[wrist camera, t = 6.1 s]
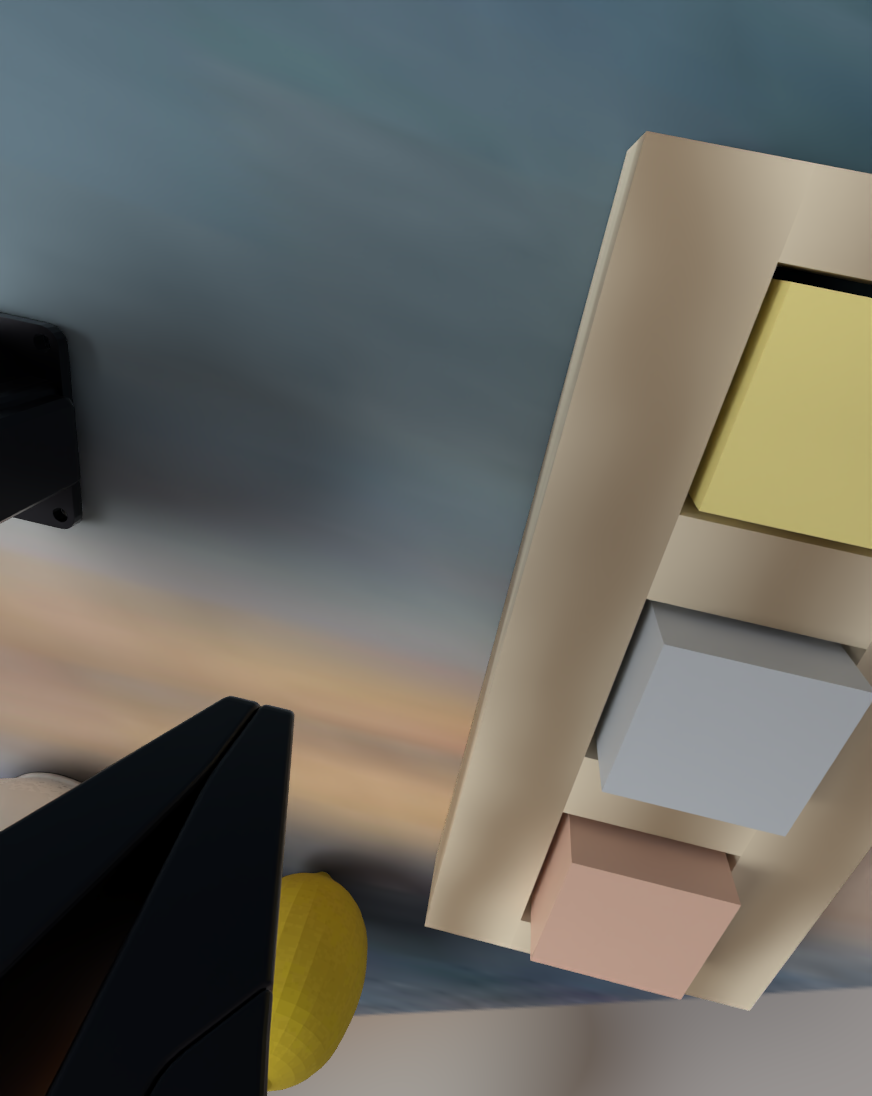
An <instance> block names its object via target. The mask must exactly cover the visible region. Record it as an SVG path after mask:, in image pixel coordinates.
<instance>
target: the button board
mask: <svg viewBox="0 0 872 1096" xmlns="http://www.w3.org/2000/svg"><path fill="white" fill-rule="evenodd" d="M776 266H778V267H783V268H788V269H793V270H798V271H803V272H808V273H813V274H818V275H823V276H828V277H833V278H838V279H843V280H848V281H853V282H858V283H863V284H868V285H872V174H868V173H863V172H858V171H853V170H848V169H842V168H837V167H832V166H827V165H821V164H816V163H811V162H806V161H800V160H795V159H790V158H785V157H779V156H774V155H769V154H764V153H759V152H753V151H748V150H743V149H738V148H732V147H727V146H722V145H717V144H711V143H706V142H701V141H696V140H691V139H685V138H680V137H675V136H670V135H664V134H659V133H654V132H649V131H646V132H645V133H644V134H643V135H642V136H641V137H640V138H639V139H638V140H637V141H636V142H635V143H634V144H633V145H632V147H631V148H630V149H629V150H628V151H627V153H626V157H625V161H624V164H623V168H622V172H621V175H620V179H619V183H618V186H617V190H616V194H615V198H614V201H613V205H612V209H611V212H610V216H609V220H608V223H607V227H606V231H605V234H604V238H603V242H602V246H601V249H600V253H599V257H598V260H597V264H596V268H595V271H594V275H593V279H592V283H591V286H590V290H589V294H588V297H587V301H586V305H585V308H584V312H583V316H582V319H581V323H580V327H579V331H578V334H577V338H576V342H575V345H574V349H573V353H572V356H571V360H570V364H569V368H568V371H567V375H566V379H565V382H564V386H563V390H562V393H561V397H560V401H559V404H558V408H557V412H556V416H555V419H554V423H553V427H552V430H551V434H550V438H549V441H548V445H547V449H546V453H545V456H544V460H543V464H542V467H541V471H540V475H539V478H538V482H537V486H536V489H535V493H534V497H533V501H532V504H531V508H530V512H529V515H528V519H527V523H526V526H525V530H524V534H523V537H522V541H521V545H520V549H519V552H518V556H517V560H516V563H515V567H514V571H513V574H512V578H511V582H510V586H509V589H508V593H507V597H506V600H505V604H504V608H503V611H502V615H501V619H500V622H499V626H498V630H497V634H496V637H495V641H494V645H493V648H492V652H491V656H490V659H489V663H488V667H487V671H486V674H485V678H484V682H483V685H482V689H481V693H480V696H479V700H478V704H477V707H476V711H475V715H474V719H473V722H472V726H471V730H470V733H469V737H468V741H467V744H466V748H465V752H464V756H463V759H462V763H461V767H460V770H459V774H458V778H457V781H456V785H455V789H454V792H453V796H452V800H451V804H450V807H449V811H448V815H447V818H446V822H445V826H444V829H443V833H442V837H441V840H440V844H439V848H438V852H437V855H436V861H435V867H434V873H433V879H432V885H431V891H430V897H429V903H428V909H427V915H426V921H425V926H426V927H430V928H433V929H437V930H441V931H445V932H449V933H453V934H456V935H460V936H464V937H468V938H472V939H476V940H479V941H483V942H487V943H491V944H495V945H499V946H502V947H506V948H510V949H514V950H518V951H522V952H525V953H529V954H530V948H531V892H532V890H533V887H534V885H535V882H536V879H537V877H538V874H539V872H540V869H541V867H542V864H543V862H544V859H545V856H546V854H547V851H548V849H549V846H550V844H551V841H552V839H553V836H554V833H555V831H556V828H557V826H558V823H559V821H560V818H561V816H562V813H563V812H564V813H568V814H572V815H576V816H580V817H584V818H588V819H592V820H596V821H600V822H604V823H608V824H612V825H616V826H620V827H624V828H628V829H632V830H637V831H641V832H645V833H649V834H653V835H657V836H661V837H665V838H669V839H673V840H677V841H681V842H685V843H689V844H693V845H697V846H701V847H705V848H709V849H713V850H717V851H721V852H725V854H726V857H727V860H728V863H729V867H730V870H731V873H732V877H733V880H734V883H735V887H736V890H737V893H738V896H739V900H740V903H741V906H740V908H739V910H738V911H737V913H736V914H735V916H734V917H733V919H732V921H731V922H730V924H729V925H728V927H727V928H726V930H725V931H724V933H723V935H722V936H721V938H720V939H719V941H718V942H717V944H716V945H715V947H714V949H713V950H712V952H711V953H710V955H709V956H708V958H707V959H706V961H705V963H704V964H703V966H702V967H701V969H700V970H699V972H698V973H697V975H696V977H695V978H694V980H693V981H692V983H691V984H690V986H689V987H688V989H687V991H686V992H685V994H687V995H690V996H694V997H698V998H702V999H706V1000H710V1001H713V1002H717V1003H721V1004H725V1005H729V1006H733V1007H737V1008H740V1009H744V1010H748V1011H750V1010H751V1008H752V1007H753V1005H754V1004H755V1003H756V1001H757V1000H758V999H759V997H760V996H761V995H762V993H763V992H764V991H765V989H766V988H767V987H768V985H769V984H770V983H771V981H772V980H773V979H774V977H775V976H776V975H777V973H778V972H779V971H780V969H781V968H782V967H783V965H784V964H785V963H786V961H787V960H788V958H789V957H790V956H791V954H792V953H793V952H794V950H795V949H796V948H797V946H798V945H799V944H800V942H801V941H802V940H803V938H804V937H805V936H806V934H807V933H808V932H809V930H810V929H811V928H812V926H813V925H814V924H815V922H816V921H817V919H818V918H819V917H820V915H821V914H822V913H823V911H824V910H825V909H826V907H827V906H828V905H829V903H830V902H831V901H832V899H833V898H834V897H835V895H836V894H837V893H838V891H839V890H840V889H841V887H842V886H843V885H844V883H845V882H846V880H847V879H848V878H849V876H850V875H851V874H852V872H853V871H854V870H855V868H856V867H857V866H858V864H859V863H860V862H861V860H862V859H863V858H864V856H865V855H866V854H867V852H868V851H869V850H870V848H871V847H872V703H871V704H870V706H869V707H868V709H867V710H866V712H865V713H864V715H863V717H862V718H861V720H860V721H859V723H858V724H857V726H856V727H855V729H854V731H853V732H852V734H851V735H850V737H849V738H848V740H847V741H846V743H845V745H844V746H843V748H842V749H841V751H840V752H839V754H838V755H837V757H836V759H835V760H834V762H833V763H832V765H831V766H830V768H829V769H828V771H827V773H826V774H825V776H824V777H823V779H822V780H821V782H820V783H819V785H818V787H817V788H816V790H815V791H814V793H813V794H812V796H811V798H810V799H809V801H808V802H807V804H806V805H805V807H804V808H803V810H802V812H801V813H800V815H799V816H798V818H797V819H796V821H795V822H794V824H793V826H792V827H791V829H790V830H789V832H788V833H787V835H786V836H781V835H776V834H772V833H768V832H764V831H760V830H756V829H752V828H748V827H744V826H740V825H736V824H732V823H728V822H724V821H720V820H715V819H711V818H707V817H703V816H699V815H695V814H691V813H687V812H683V811H679V810H675V809H671V808H667V807H663V806H659V805H654V804H650V803H646V802H642V801H638V800H634V799H630V798H626V797H622V796H618V795H614V794H610V793H606V792H602V788H601V780H600V771H599V762H598V753H597V744H596V735H595V729H596V726H597V724H598V721H599V718H600V716H601V713H602V711H603V708H604V706H605V703H606V701H607V698H608V695H609V693H610V690H611V688H612V685H613V683H614V680H615V678H616V675H617V672H618V670H619V667H620V665H621V662H622V660H623V657H624V655H625V652H626V649H627V647H628V644H629V642H630V639H631V637H632V634H633V632H634V629H635V626H636V624H637V621H638V619H639V616H640V614H641V611H642V609H643V606H644V603H645V601H646V599H649V600H653V601H658V602H662V603H666V604H671V605H675V606H679V607H684V608H688V609H693V610H697V611H701V612H706V613H710V614H714V615H719V616H723V617H727V618H732V619H736V620H741V621H745V622H749V623H754V624H758V625H762V626H767V627H771V628H775V629H780V630H784V631H789V632H793V633H797V634H802V635H806V636H810V637H815V638H819V639H823V640H828V641H832V642H837V643H840V645H841V646H842V647H843V649H844V650H845V651H846V653H847V654H848V655H849V657H850V658H851V659H852V661H853V662H854V663H855V665H856V666H857V668H858V669H859V670H860V672H861V673H862V674H863V676H864V677H865V678H866V680H867V681H868V682H869V684H870V685H871V686H872V549H869V548H865V547H860V546H856V545H851V544H847V543H842V542H838V541H833V540H829V539H824V538H820V537H815V536H811V535H806V534H802V533H797V532H793V531H788V530H783V529H779V528H774V527H770V526H765V525H761V524H756V523H752V522H747V521H743V520H738V519H734V518H729V517H725V516H720V515H716V514H711V513H707V512H702V511H699V510H698V508H697V507H696V505H695V503H694V502H693V500H692V498H691V497H690V495H689V493H688V491H689V488H690V486H691V483H692V481H693V478H694V476H695V473H696V471H697V468H698V465H699V463H700V460H701V458H702V455H703V453H704V450H705V448H706V445H707V442H708V440H709V437H710V435H711V432H712V430H713V427H714V425H715V422H716V419H717V417H718V414H719V412H720V409H721V407H722V404H723V402H724V399H725V396H726V394H727V391H728V389H729V386H730V384H731V381H732V379H733V376H734V373H735V371H736V368H737V366H738V363H739V361H740V358H741V356H742V353H743V350H744V348H745V345H746V343H747V340H748V338H749V335H750V333H751V330H752V327H753V325H754V322H755V320H756V317H757V315H758V312H759V310H760V307H761V304H762V302H763V299H764V297H765V294H766V292H767V289H768V287H769V284H770V282H771V279H772V276H773V274H774V271H775V269H776Z"/></svg>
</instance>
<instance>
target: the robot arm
mask: <svg viewBox="0 0 872 1096" xmlns="http://www.w3.org/2000/svg"><path fill="white" fill-rule="evenodd" d="M44 336H46V337H47V338H48V340H49V342H50V349H49V348H48V347H47V346H46V345H45V343H44V340H43V337H44ZM61 509H63V510H64V511H65V512H66V514H67V516H65V515H64V514H63V513H62V511H61ZM12 517H14V518H18V519H23V520H27V521H31V522H35V523H40V524H44V525H48V526H52V527H57V528H61V529H68V528H70V527H72V526H74V525H75V524H77V523H79V522H80V520H81V519H82V503H81V492H80V469H79V458H78V446H77V434H76V423H75V411H74V406H73V400H72V389H71V377H70V366H69V354H68V344H67V340H66V337H65V335H64V334H63V332H62V331H61V330H60V329H59V328H58V327H57V326H55V325H52V324H50V323H46V322H41V321H36V320H32V319H27V318H23V317H18V316H13V315H9V314H4V313H0V523H2V522H4V521H6V520H8V519H10V518H12ZM293 729H294V713H293V712H292V711H290V710H287V709H283V708H279V707H275V706H270V705H263V706H260V705H259V704H258V703H257V702H254V701H250V700H246V699H242V698H238V697H234V696H229V697H225V698H223V699H221V700H219V701H218V702H216V703H214V704H213V705H211V706H209V707H208V708H206V709H204V710H203V711H201V712H199V713H198V714H196V715H194V716H193V717H191V718H189V719H188V720H186V721H184V722H183V723H181V724H179V725H178V726H176V727H174V728H173V729H171V730H169V731H168V732H166V733H164V734H163V735H161V736H159V737H158V738H156V739H154V740H153V741H151V742H149V743H148V744H146V745H144V746H142V747H141V748H139V749H137V750H136V751H134V752H132V753H131V754H129V755H127V756H126V757H124V758H122V759H121V760H119V761H117V762H116V763H114V764H112V765H111V766H109V767H107V768H106V769H104V770H102V771H101V772H99V773H97V774H96V775H94V776H92V777H91V778H89V779H87V780H86V781H84V782H82V783H81V784H79V785H77V786H76V787H74V788H72V789H71V790H69V791H67V792H66V793H64V794H62V795H60V796H59V797H57V798H55V799H54V800H52V801H50V802H49V803H47V804H45V805H44V806H42V807H40V808H39V809H37V810H35V811H34V812H32V813H30V814H29V815H27V816H25V817H24V818H22V819H20V820H19V821H17V822H15V823H14V824H12V825H10V826H9V827H7V828H5V829H4V830H2V831H0V1096H267V1085H268V1063H269V1041H270V1028H271V1015H272V1002H273V984H274V971H275V958H276V946H277V933H278V920H279V907H280V895H281V882H282V869H283V856H284V843H285V831H286V818H287V805H288V792H289V780H290V767H291V754H292V741H293Z"/></svg>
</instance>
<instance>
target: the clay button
mask: <svg viewBox="0 0 872 1096" xmlns="http://www.w3.org/2000/svg"><path fill="white" fill-rule="evenodd" d="M740 906H741V903H740V900H739V896H738V893H737V890H736V887H735V883H734V880H733V877H732V873H731V870H730V867H729V863H728V860H727V857H726V854H725V852H721V851H717V850H713V849H709V848H705V847H701V846H697V845H693V844H689V843H685V842H681V841H677V840H673V839H669V838H665V837H661V836H657V835H653V834H649V833H645V832H641V831H637V830H632V829H628V828H624V827H620V826H616V825H612V824H608V823H604V822H600V821H596V820H592V819H588V818H584V817H580V816H576V815H572V814H568V813H564V812H563V813H562V816H561V818H560V821H559V823H558V826H557V828H556V831H555V833H554V836H553V839H552V841H551V844H550V846H549V849H548V851H547V854H546V856H545V859H544V862H543V864H542V867H541V869H540V872H539V874H538V877H537V879H536V882H535V885H534V887H533V890H532V892H531V948H530V961H534V962H538V963H542V964H546V965H550V966H553V967H557V968H561V969H565V970H569V971H572V972H576V973H580V974H584V975H588V976H592V977H595V978H599V979H603V980H607V981H611V982H615V983H618V984H622V985H626V986H630V987H634V988H638V989H641V990H645V991H649V992H653V993H657V994H660V995H664V996H668V997H672V998H676V999H680V1000H681V998H682V997H683V995H684V994H685V992H686V991H687V989H688V987H689V986H690V984H691V983H692V981H693V980H694V978H695V977H696V975H697V973H698V972H699V970H700V969H701V967H702V966H703V964H704V963H705V961H706V959H707V958H708V956H709V955H710V953H711V952H712V950H713V949H714V947H715V945H716V944H717V942H718V941H719V939H720V938H721V936H722V935H723V933H724V931H725V930H726V928H727V927H728V925H729V924H730V922H731V921H732V919H733V917H734V916H735V914H736V913H737V911H738V910H739V908H740Z"/></svg>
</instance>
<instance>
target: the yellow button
mask: <svg viewBox="0 0 872 1096" xmlns="http://www.w3.org/2000/svg"><path fill="white" fill-rule="evenodd" d="M688 493H689V495H690V497H691V498H692V500H693V502H694V503H695V505H696V507H697V508H698V510H699V511H702V512H707V513H711V514H716V515H720V516H725V517H729V518H734V519H738V520H743V521H747V522H752V523H756V524H761V525H765V526H770V527H774V528H779V529H783V530H788V531H793V532H797V533H802V534H806V535H811V536H815V537H820V538H824V539H829V540H833V541H838V542H842V543H847V544H851V545H856V546H860V547H865V548H869V549H872V298H869V297H864V296H859V295H854V294H849V293H844V292H839V291H834V290H829V289H824V288H819V287H814V286H809V285H805V284H800V283H795V282H789V281H783V280H777V279H771V282H770V284H769V287H768V289H767V292H766V294H765V297H764V299H763V302H762V304H761V307H760V310H759V312H758V315H757V317H756V320H755V322H754V325H753V327H752V330H751V333H750V335H749V338H748V340H747V343H746V345H745V348H744V350H743V353H742V356H741V358H740V361H739V363H738V366H737V368H736V371H735V373H734V376H733V379H732V381H731V384H730V386H729V389H728V391H727V394H726V396H725V399H724V402H723V404H722V407H721V409H720V412H719V414H718V417H717V419H716V422H715V425H714V427H713V430H712V432H711V435H710V437H709V440H708V442H707V445H706V448H705V450H704V453H703V455H702V458H701V460H700V463H699V465H698V468H697V471H696V473H695V476H694V478H693V481H692V483H691V486H690V488H689V491H688Z"/></svg>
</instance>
